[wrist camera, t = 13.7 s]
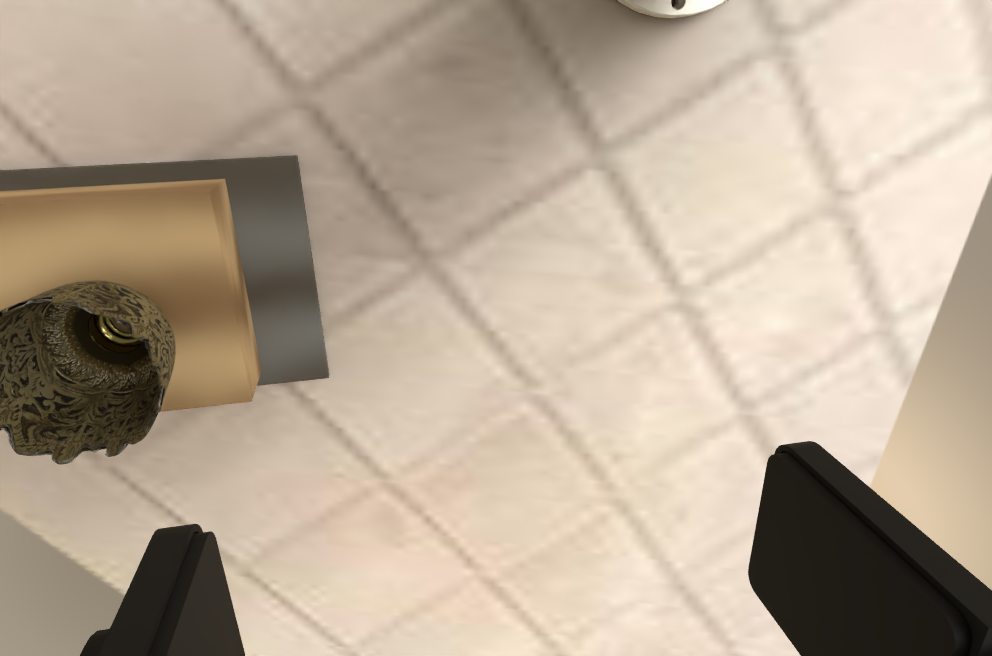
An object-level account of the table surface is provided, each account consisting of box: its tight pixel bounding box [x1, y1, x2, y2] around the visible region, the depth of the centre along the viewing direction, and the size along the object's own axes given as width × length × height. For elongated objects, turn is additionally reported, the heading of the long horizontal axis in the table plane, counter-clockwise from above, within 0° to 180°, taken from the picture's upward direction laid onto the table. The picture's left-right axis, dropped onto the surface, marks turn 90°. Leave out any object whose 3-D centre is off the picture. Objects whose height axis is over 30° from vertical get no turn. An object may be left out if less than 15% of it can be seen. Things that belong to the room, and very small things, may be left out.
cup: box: [0, 281, 176, 464], centre depth 29 cm, size 8×7×8 cm
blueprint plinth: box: [0, 156, 329, 411], centre depth 35 cm, size 14×20×4 cm
